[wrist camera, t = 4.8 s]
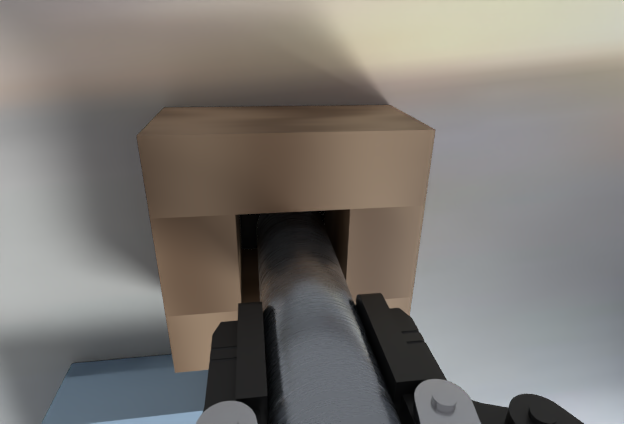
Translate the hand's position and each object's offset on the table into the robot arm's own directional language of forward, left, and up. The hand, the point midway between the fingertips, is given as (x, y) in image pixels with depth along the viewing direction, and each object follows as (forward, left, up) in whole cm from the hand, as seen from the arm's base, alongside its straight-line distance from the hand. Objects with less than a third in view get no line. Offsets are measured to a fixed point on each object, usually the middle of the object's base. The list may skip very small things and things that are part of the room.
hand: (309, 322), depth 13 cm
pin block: (0, 0, -9) cm, 9 cm away
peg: (0, 0, -7) cm, 7 cm away
